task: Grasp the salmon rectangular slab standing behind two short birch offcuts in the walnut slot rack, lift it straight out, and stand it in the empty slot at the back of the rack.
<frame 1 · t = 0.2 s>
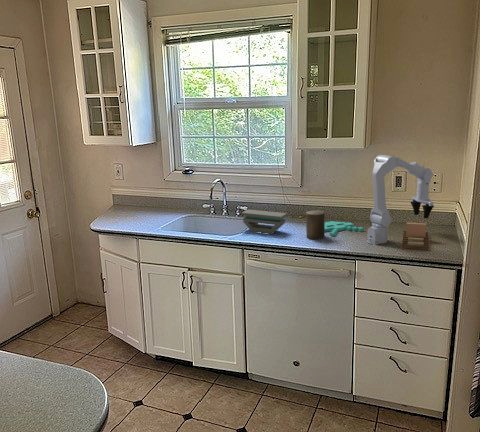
hand: (421, 216, 232), 10 cm above the worktop, tool pointing down, fingers open, 7 cm apart
pillar candle: (315, 237, 240), on the worktop
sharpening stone: (264, 231, 254), on the worktop
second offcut: (415, 243, 220), point 1 cm above the worktop, touching rack
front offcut: (415, 248, 214), point 1 cm above the worktop, touching rack
rack: (415, 243, 223), on the worktop
salmon rectangular slab: (415, 239, 226), point 1 cm above the worktop, touching rack
teal pixel toy sword: (337, 230, 252), on the worktop
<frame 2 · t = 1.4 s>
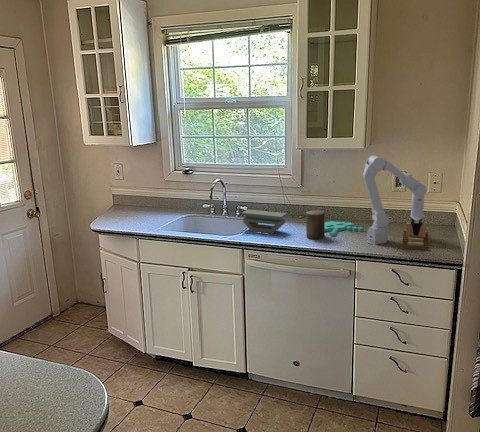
hand: (415, 233, 225), 4 cm above the worktop, tool pointing down, fingers open, 7 cm apart
nothing on the worktop moved.
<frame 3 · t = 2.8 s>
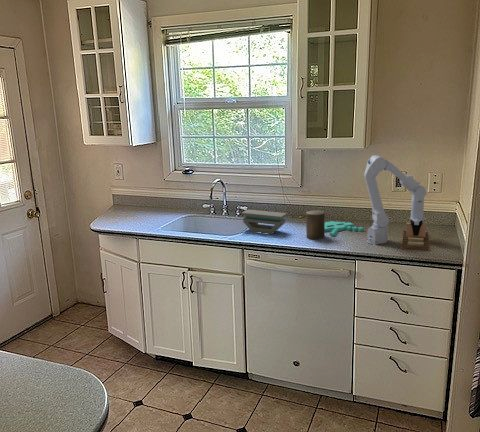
hand: (415, 234, 225), 3 cm above the worktop, tool pointing down, fingers closed on salmon rectangular slab, 2 cm apart
salmon rectangular slab: (415, 239, 226), point 1 cm above the worktop, touching gripper, rack
everything else where it was.
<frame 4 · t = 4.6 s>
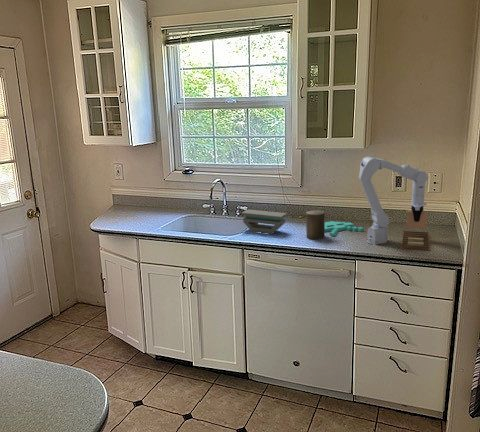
hand: (416, 220, 224), 10 cm above the worktop, tool pointing down, fingers closed on salmon rectangular slab
salmon rectangular slab: (416, 227, 225), point 7 cm above the worktop, touching gripper
everything else where it was.
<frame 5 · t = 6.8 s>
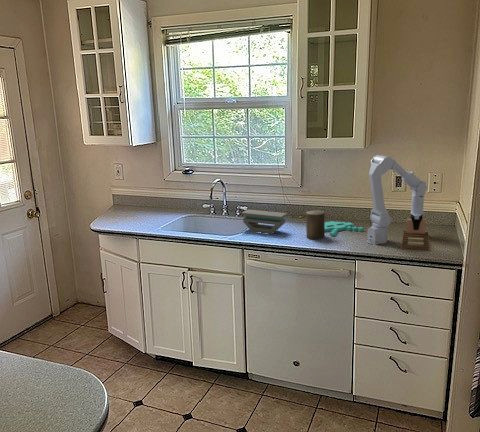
hand: (415, 229, 230), 4 cm above the worktop, tool pointing down, fingers closed on salmon rectangular slab, 2 cm apart
salmon rectangular slab: (415, 235, 231), point 1 cm above the worktop, touching gripper, rack
everything else where it was.
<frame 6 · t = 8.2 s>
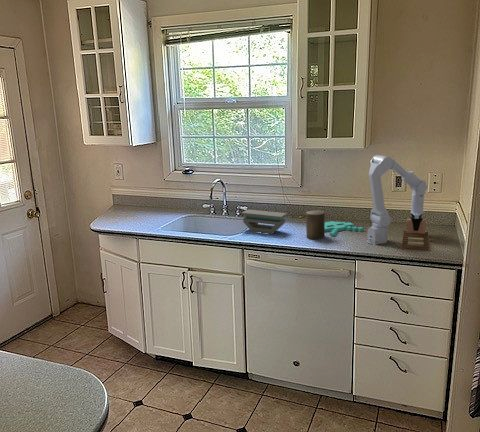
hand: (415, 228, 230), 5 cm above the worktop, tool pointing down, fingers open, 7 cm apart
salmon rectangular slab: (415, 235, 231), point 1 cm above the worktop, touching rack
everything else where it was.
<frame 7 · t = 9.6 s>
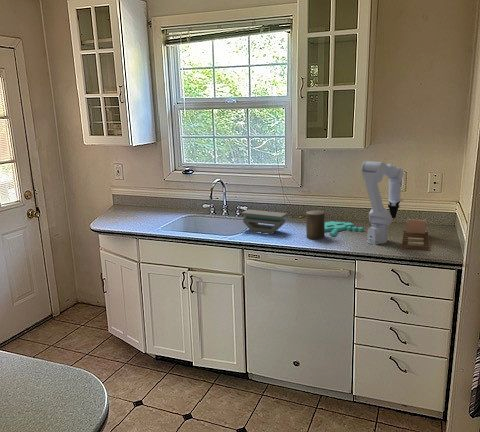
hand: (393, 215, 234), 10 cm above the worktop, tool pointing down, fingers open, 7 cm apart
nothing on the worktop moved.
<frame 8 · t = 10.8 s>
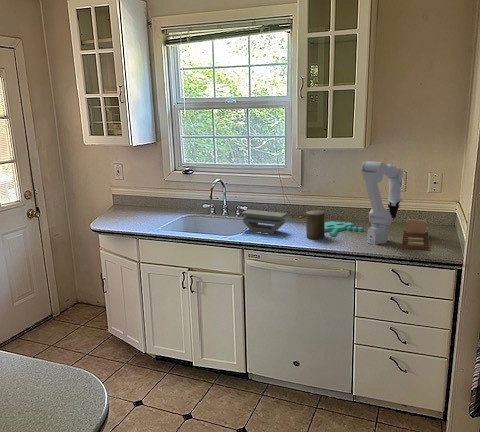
hand: (393, 215, 234), 10 cm above the worktop, tool pointing down, fingers open, 7 cm apart
nothing on the worktop moved.
at the end: salmon rectangular slab 0.0 cm from the target spot on the rack, point 0.8 cm above the rack's base; salmon rectangular slab tilted 0°; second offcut moved 0.0 cm from its start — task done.
